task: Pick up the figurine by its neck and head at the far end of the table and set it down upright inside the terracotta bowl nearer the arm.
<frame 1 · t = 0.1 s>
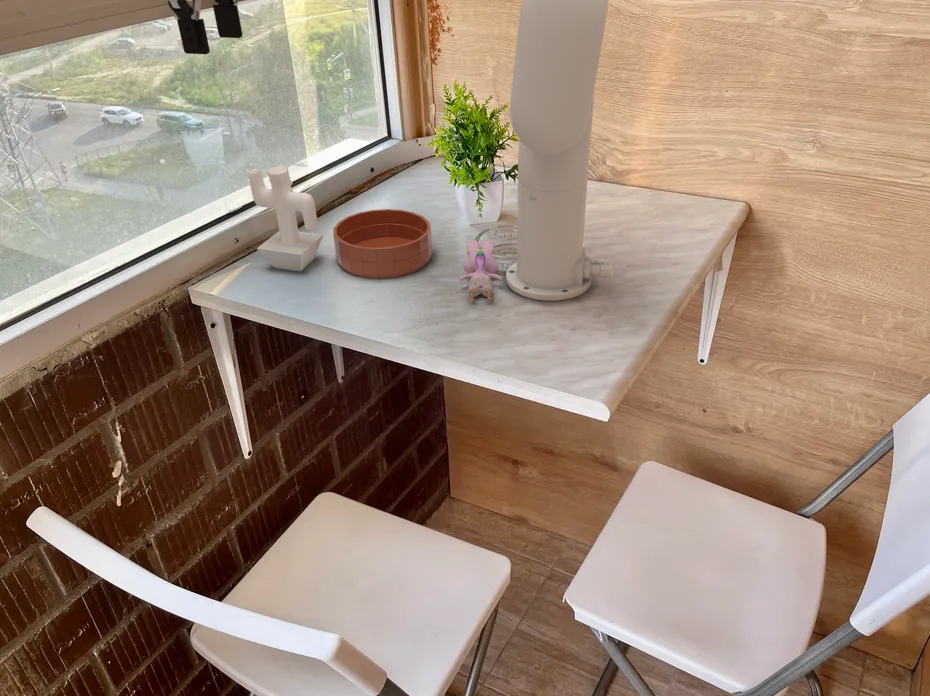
hand: (214, 45, 100), 31 cm above the table, tool pointing down, fingers open, 9 cm apart
bowl: (385, 257, 120), on the table
rabbit figure: (480, 280, 114), on the table
figurine: (294, 264, 118), on the table
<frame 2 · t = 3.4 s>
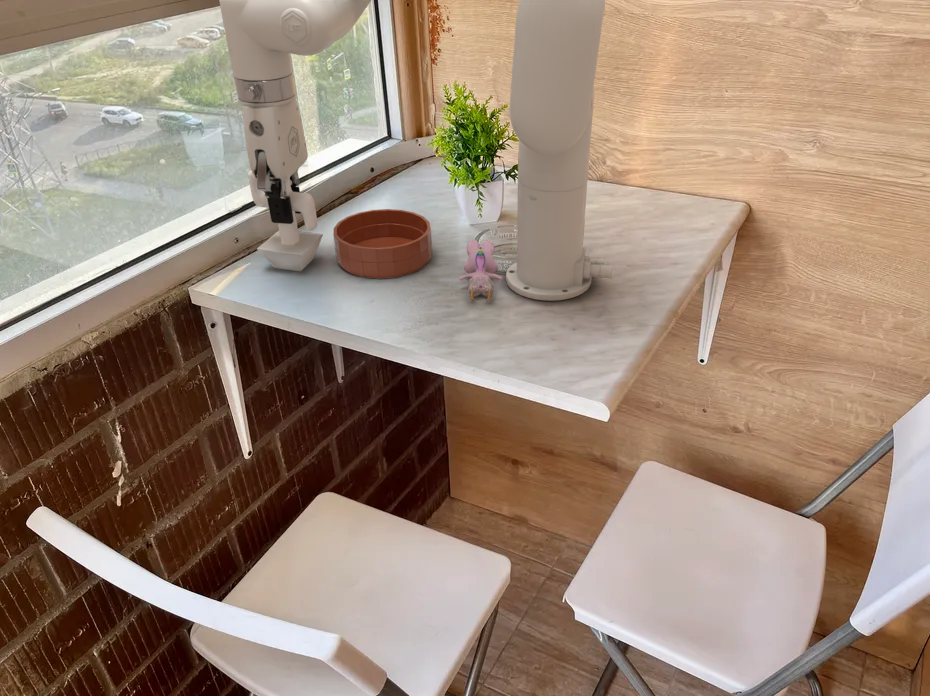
hand: (287, 216, 113), 8 cm above the table, tool pointing down, fingers closed on figurine, 3 cm apart
figurine: (294, 264, 118), on the table, touching gripper
everything else where it was.
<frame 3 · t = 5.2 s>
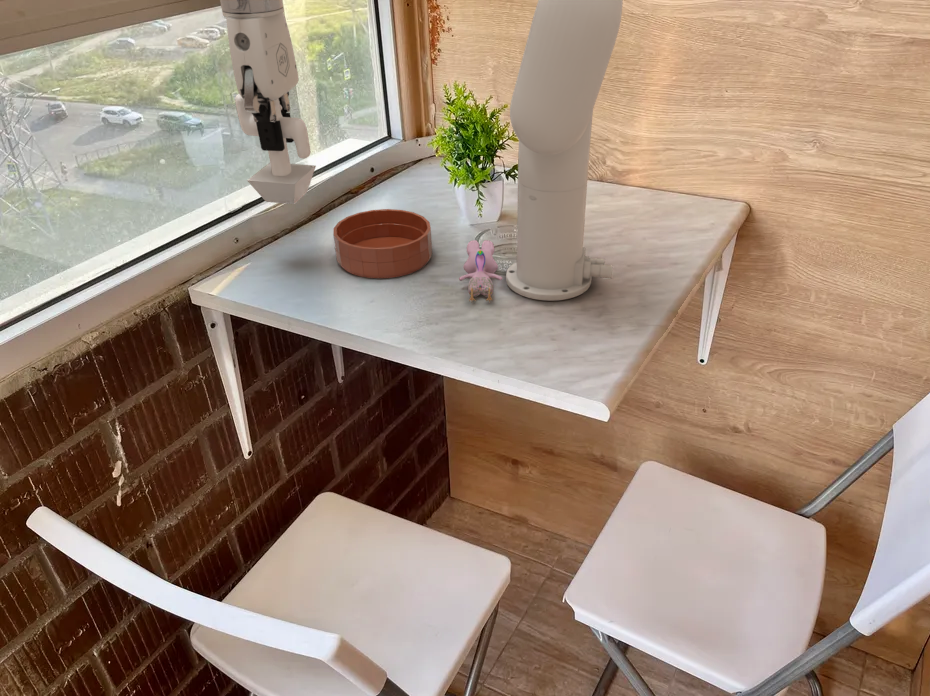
hand: (278, 144, 107), 18 cm above the table, tool pointing down, fingers closed on figurine, 2 cm apart
figurine: (286, 198, 112), point 10 cm above the table, touching gripper
everything else where it was.
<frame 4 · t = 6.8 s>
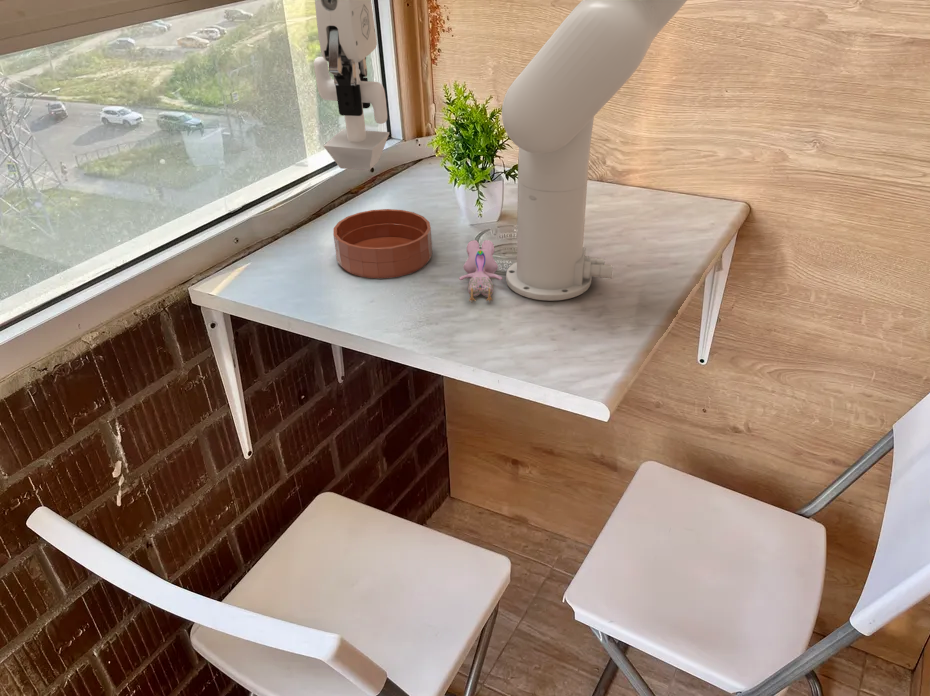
hand: (355, 110, 106), 23 cm above the table, tool pointing down, fingers closed on figurine, 2 cm apart
figurine: (360, 165, 111), point 15 cm above the table, touching gripper
everything else where it was.
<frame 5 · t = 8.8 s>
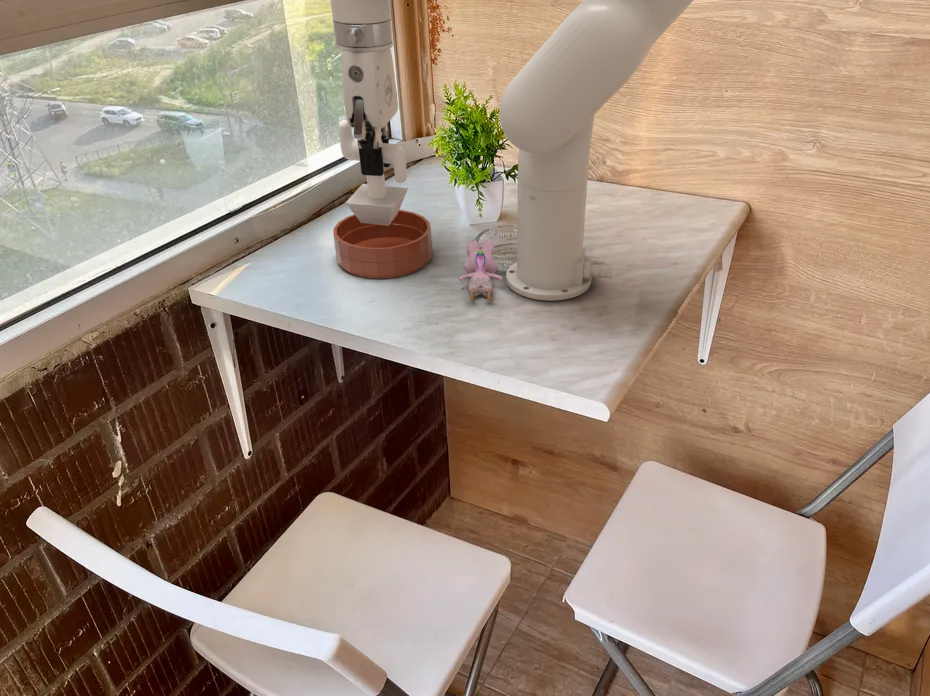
hand: (376, 169, 112), 14 cm above the table, tool pointing down, fingers closed on figurine, 2 cm apart
figurine: (379, 219, 116), point 6 cm above the table, touching gripper
everything else where it was.
when the fingers open (8 cm above the table, at t = 10.4 s): figurine stays where it is, resting on bowl.
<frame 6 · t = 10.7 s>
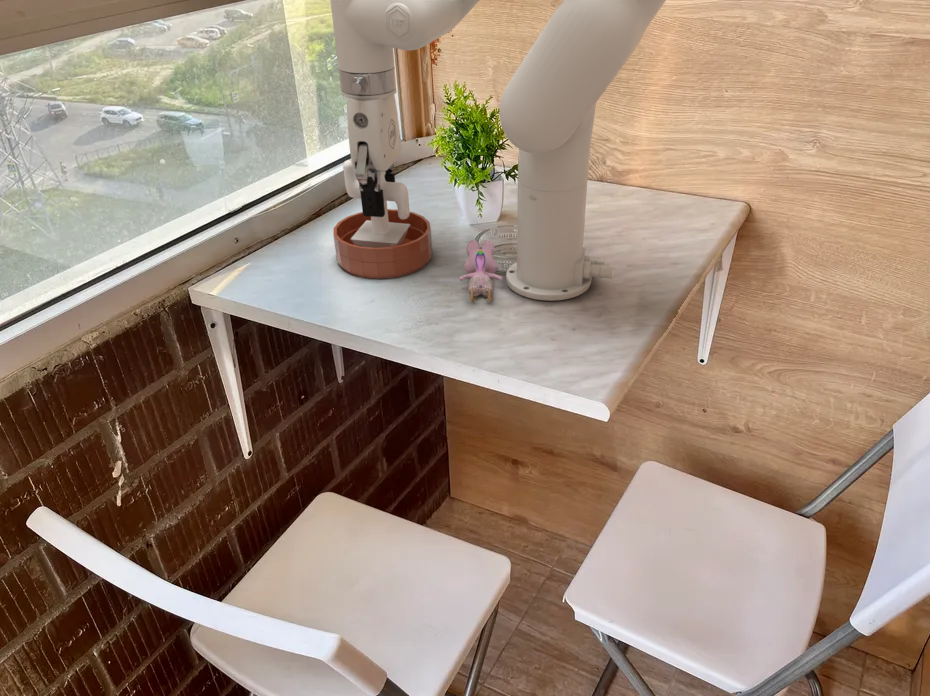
hand: (380, 206, 115), 8 cm above the table, tool pointing down, fingers open, 5 cm apart
figurine: (383, 254, 120), resting on bowl
everything else where it was.
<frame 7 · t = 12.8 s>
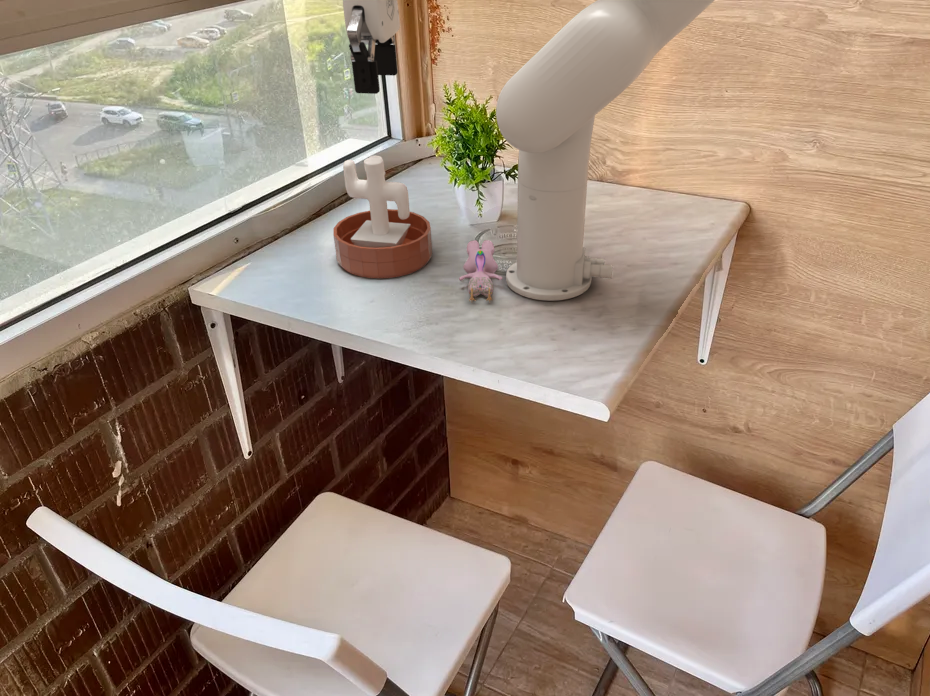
hand: (377, 83, 105), 26 cm above the table, tool pointing down, fingers open, 9 cm apart
nothing on the table moved.
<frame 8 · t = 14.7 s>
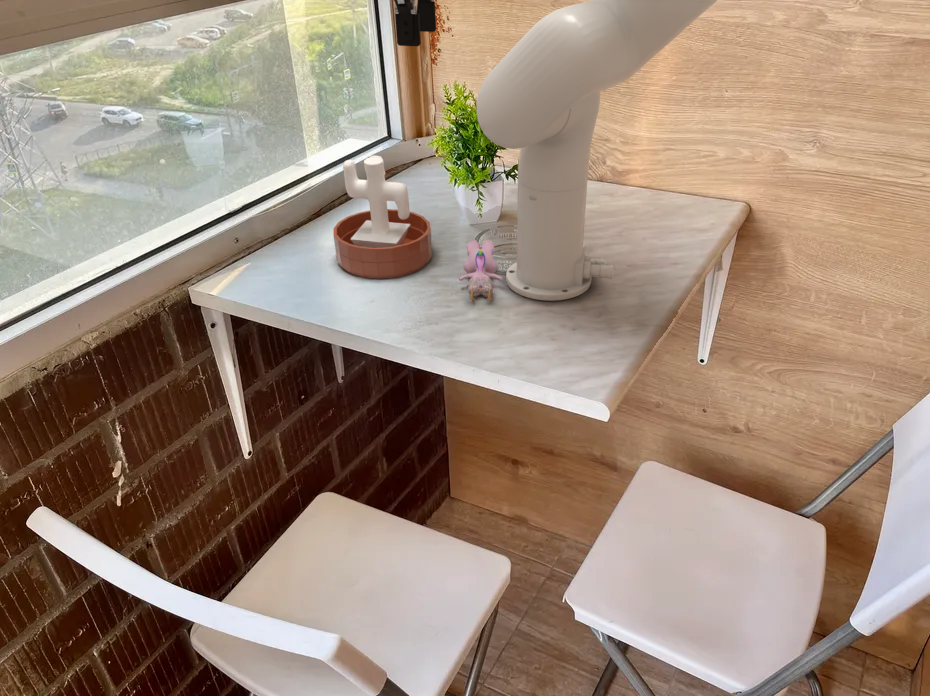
hand: (417, 38, 109), 30 cm above the table, tool pointing down, fingers open, 9 cm apart
nothing on the table moved.
at the end: figurine 0.4 cm off-centre in the bowl, point 0.4 cm above the bowl's base; figurine tilted 0°; the gripper is holding nothing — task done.
